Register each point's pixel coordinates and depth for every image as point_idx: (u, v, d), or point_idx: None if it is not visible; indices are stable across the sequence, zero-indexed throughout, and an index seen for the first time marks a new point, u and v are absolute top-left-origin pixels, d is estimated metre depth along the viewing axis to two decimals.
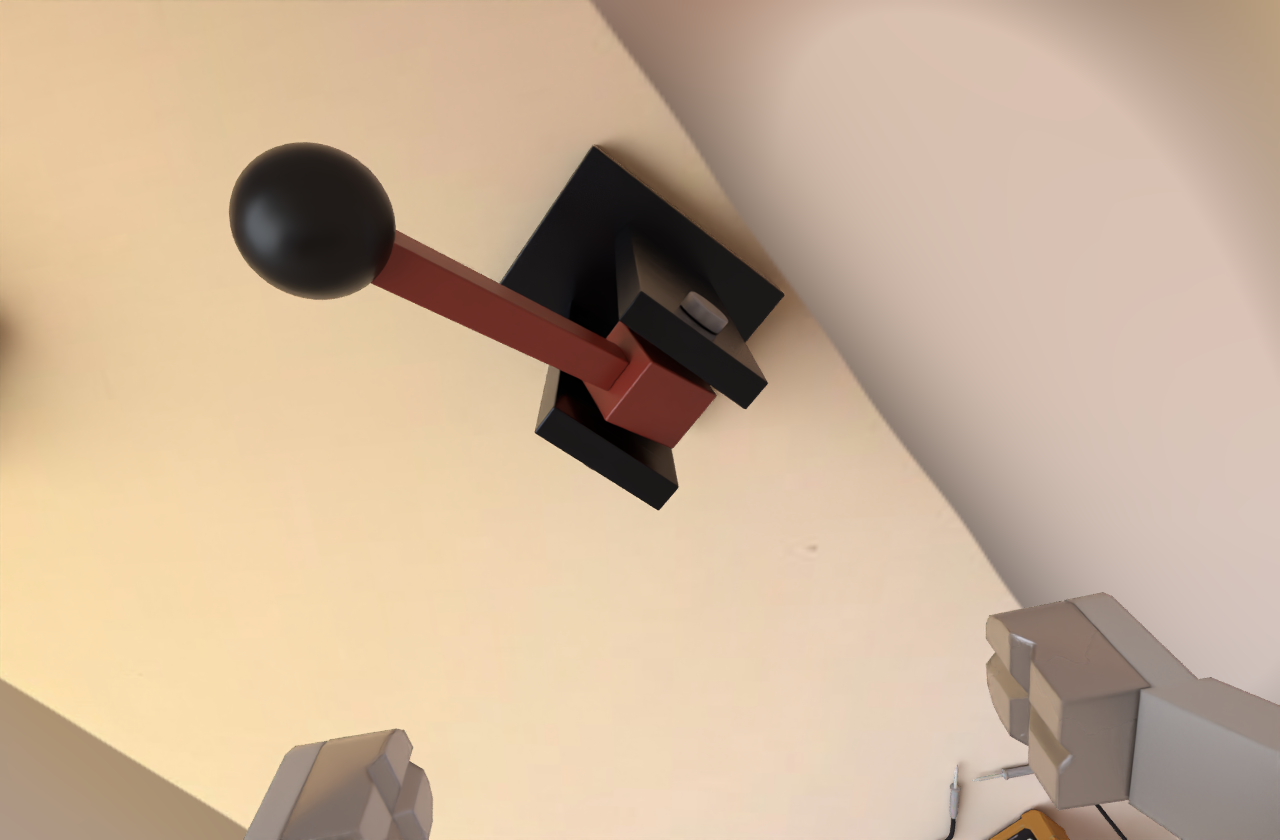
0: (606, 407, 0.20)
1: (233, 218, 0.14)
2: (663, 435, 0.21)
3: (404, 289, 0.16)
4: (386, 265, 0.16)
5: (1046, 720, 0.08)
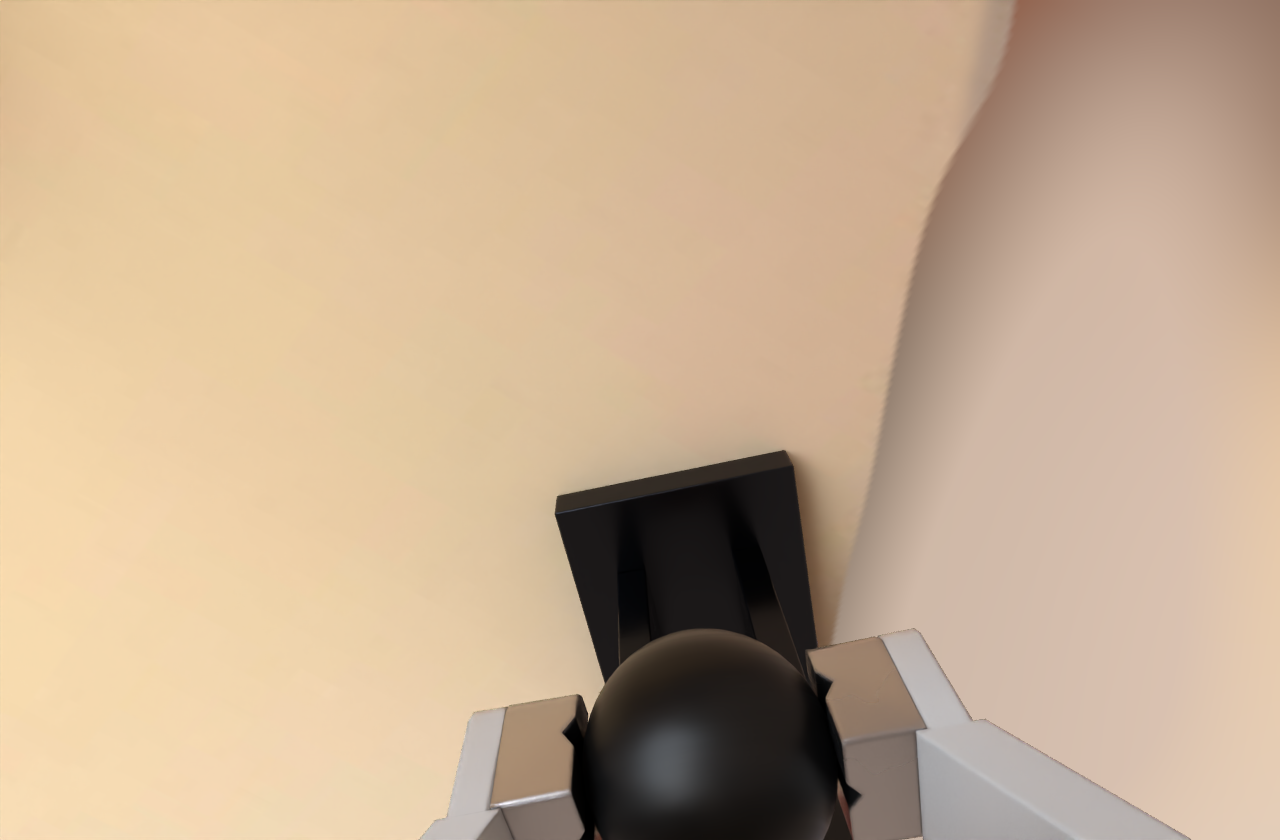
0: None
1: (662, 779, 0.08)
2: None
3: None
4: None
5: (839, 758, 0.09)
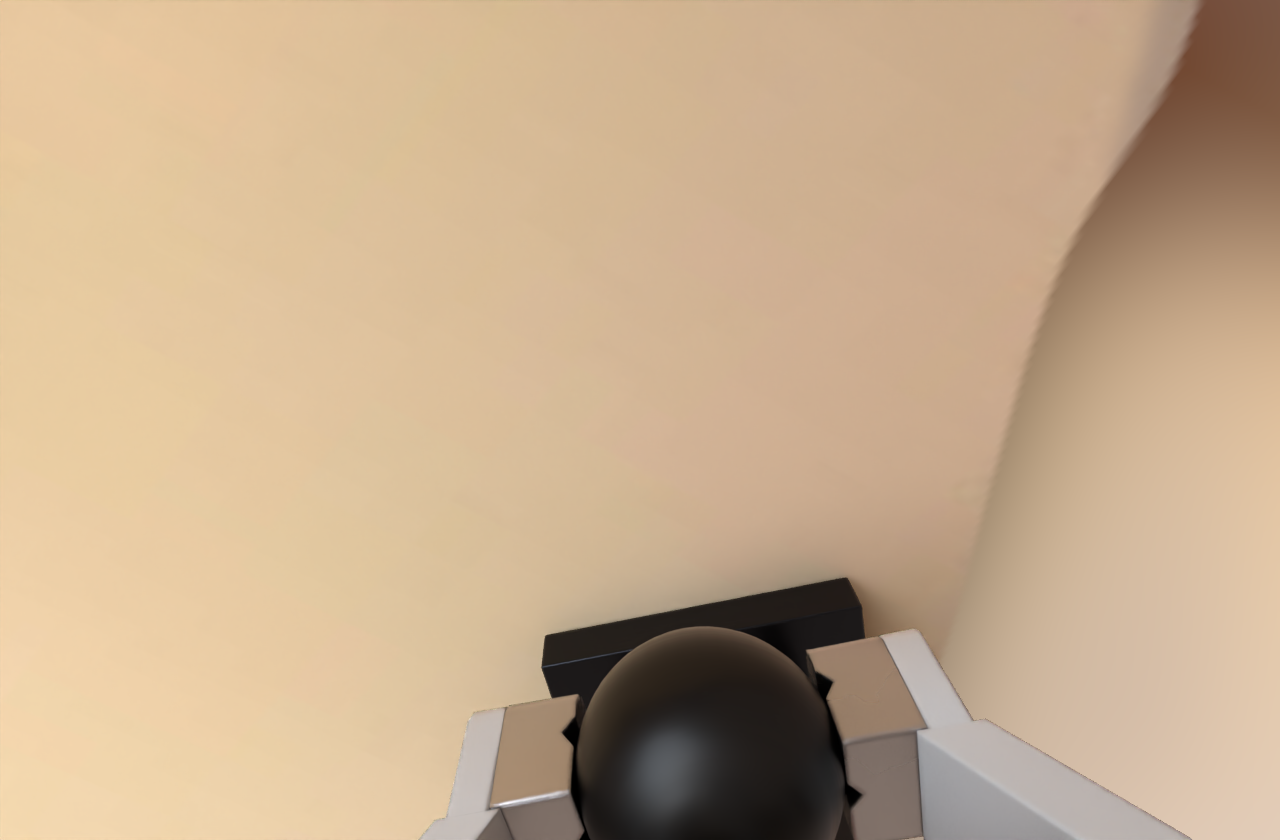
0: None
1: (645, 691, 0.08)
2: None
3: None
4: None
5: None
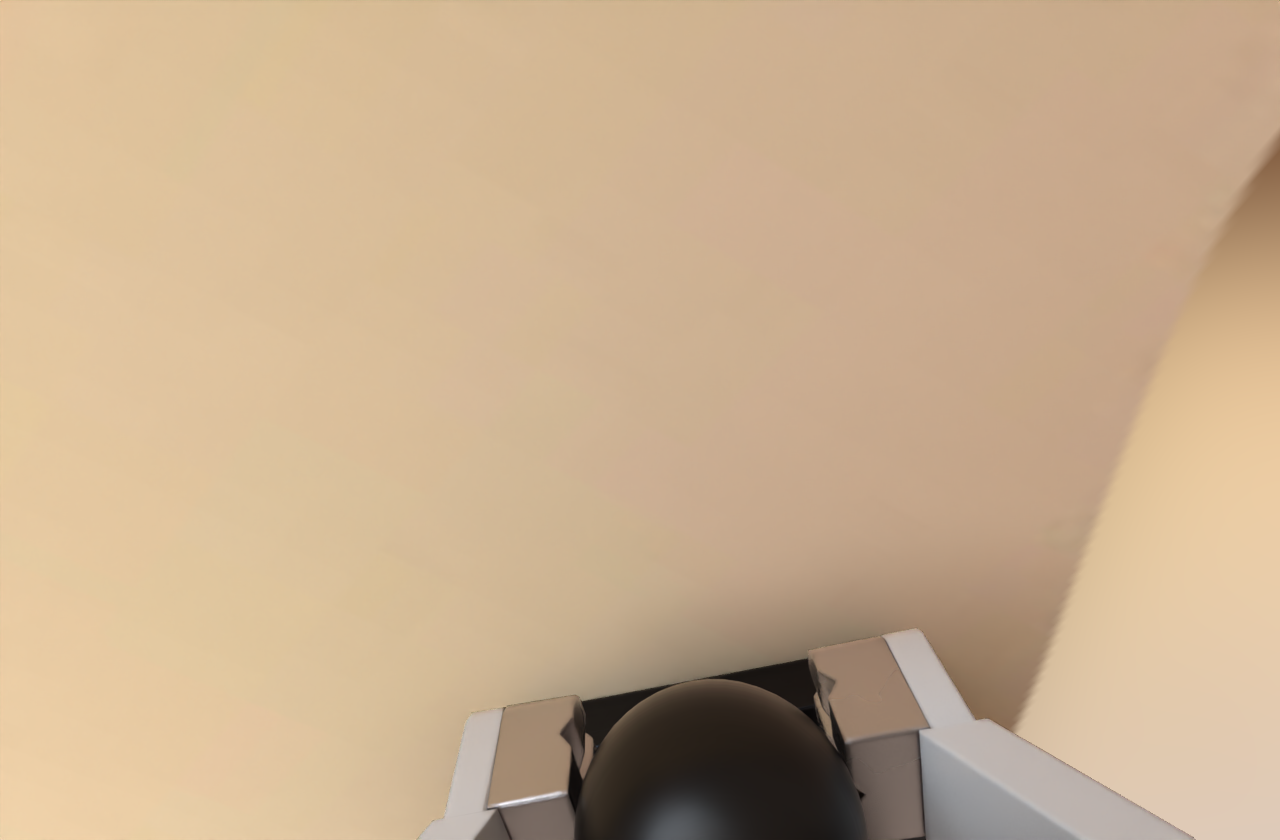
0: None
1: (649, 721, 0.08)
2: None
3: None
4: None
5: (842, 758, 0.09)
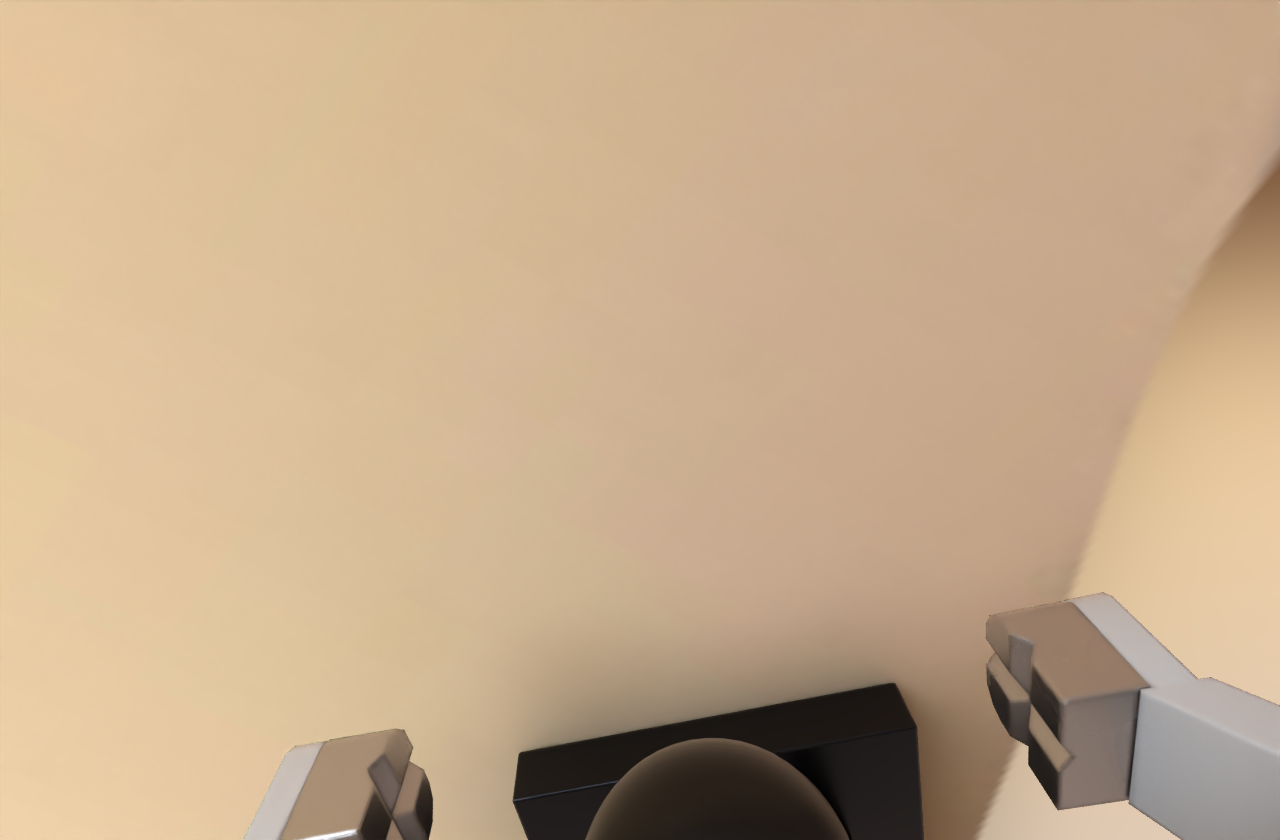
0: None
1: (649, 788, 0.08)
2: None
3: None
4: None
5: (1046, 720, 0.08)
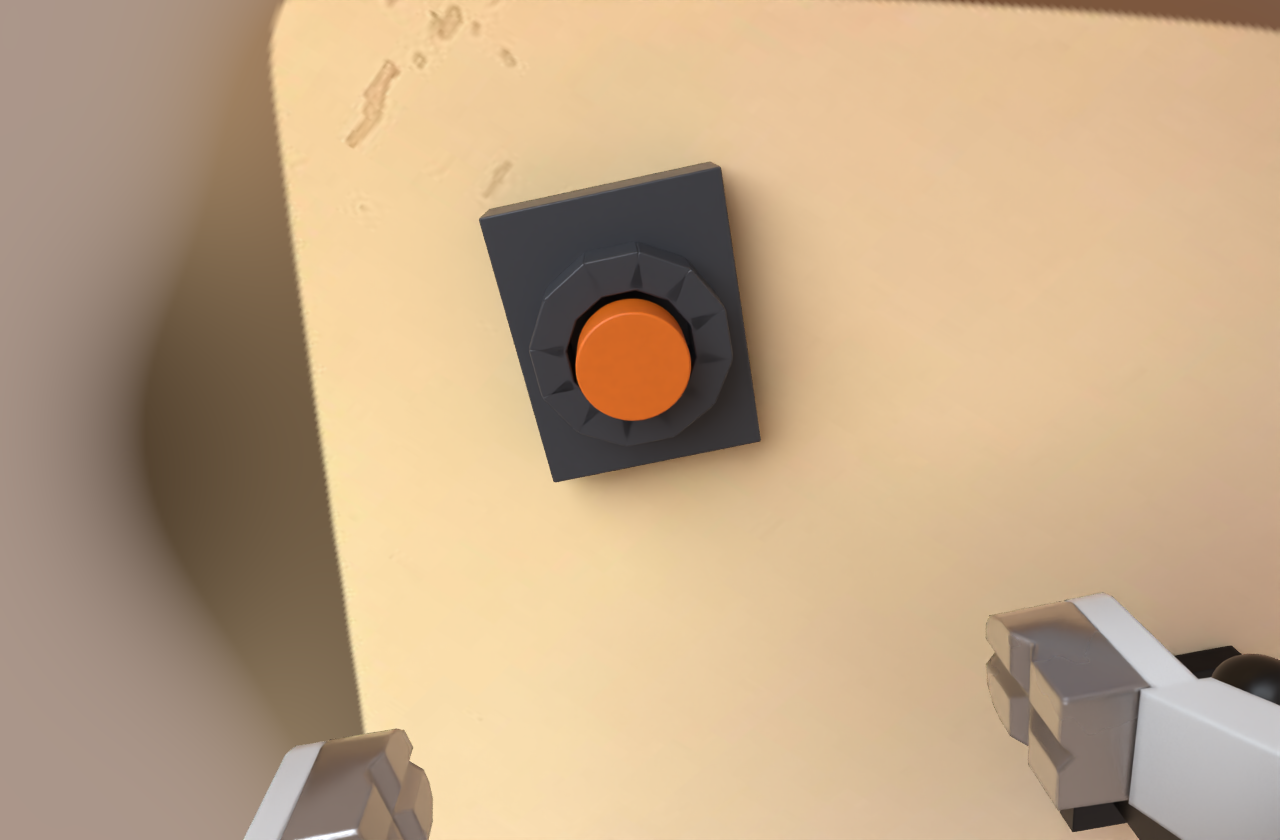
0: None
1: (1249, 665, 0.28)
2: None
3: None
4: None
5: (1046, 720, 0.08)
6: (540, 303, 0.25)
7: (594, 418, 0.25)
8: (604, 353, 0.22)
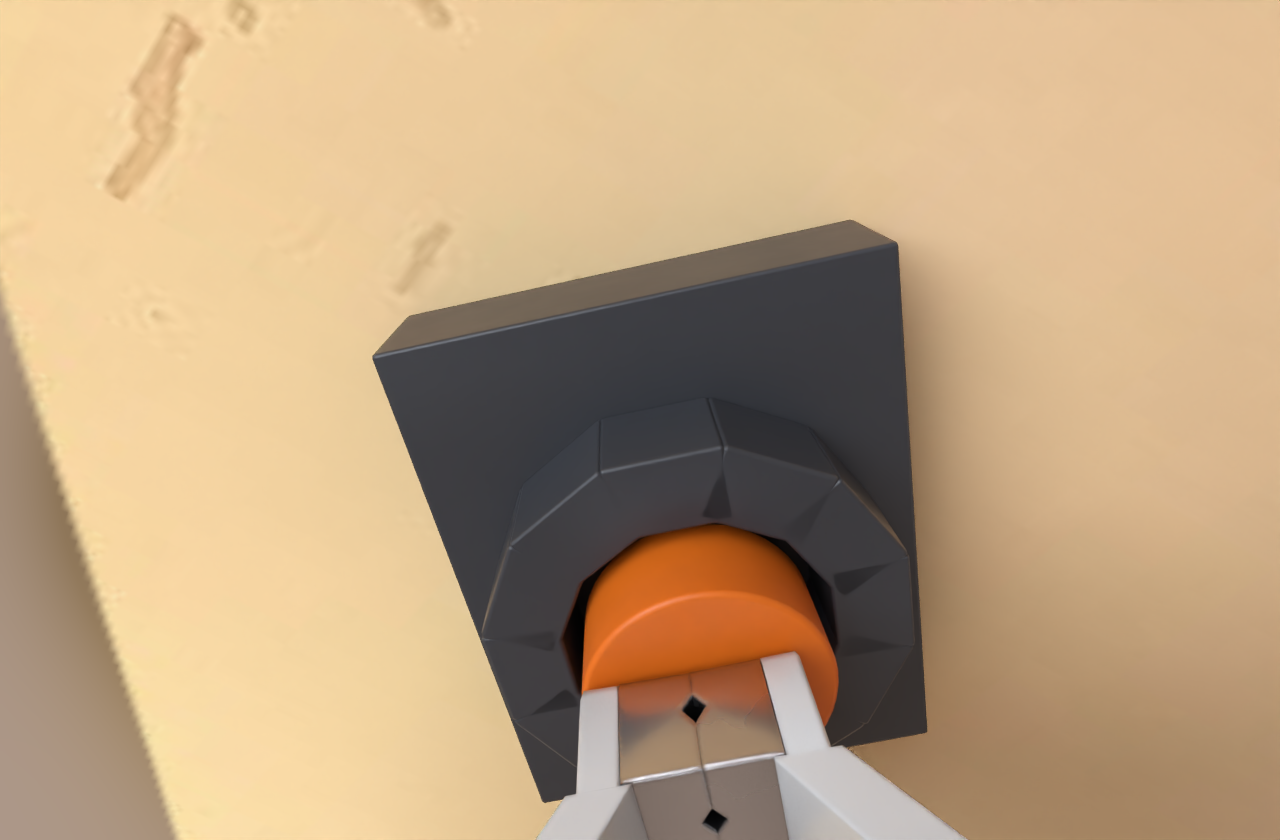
0: None
1: None
2: None
3: None
4: None
5: None
6: (509, 514, 0.12)
7: None
8: (647, 673, 0.10)
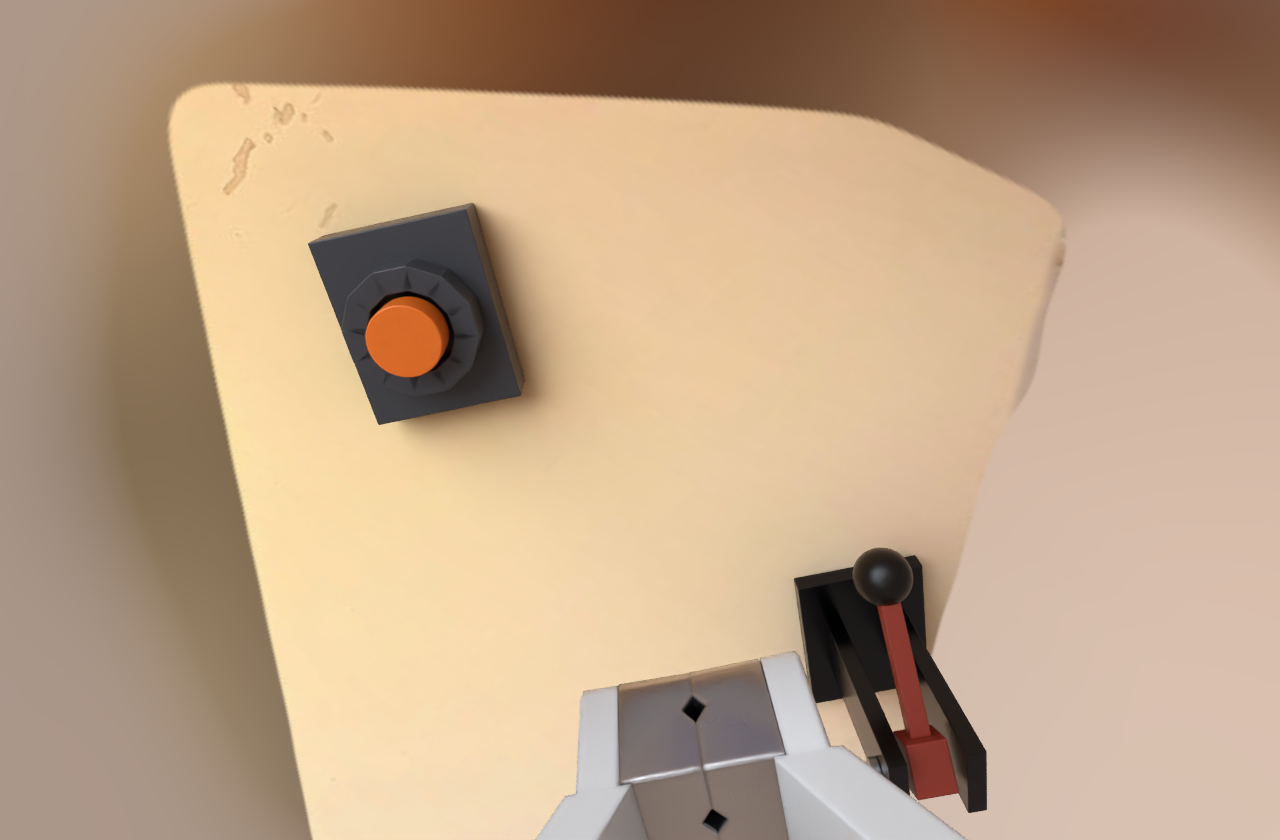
0: (908, 743, 0.38)
1: (870, 553, 0.40)
2: (921, 785, 0.38)
3: (888, 618, 0.40)
4: (891, 605, 0.40)
5: None
6: None
7: (390, 377, 0.36)
8: (383, 332, 0.34)
